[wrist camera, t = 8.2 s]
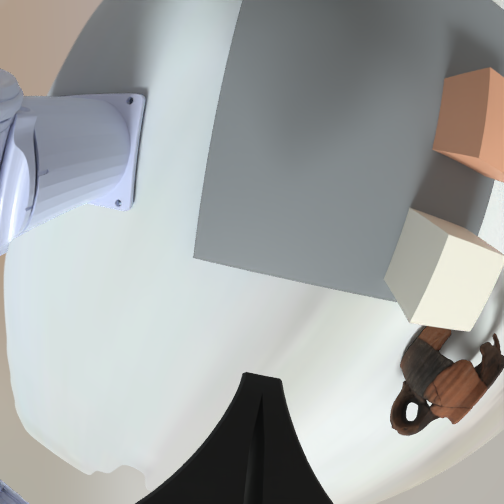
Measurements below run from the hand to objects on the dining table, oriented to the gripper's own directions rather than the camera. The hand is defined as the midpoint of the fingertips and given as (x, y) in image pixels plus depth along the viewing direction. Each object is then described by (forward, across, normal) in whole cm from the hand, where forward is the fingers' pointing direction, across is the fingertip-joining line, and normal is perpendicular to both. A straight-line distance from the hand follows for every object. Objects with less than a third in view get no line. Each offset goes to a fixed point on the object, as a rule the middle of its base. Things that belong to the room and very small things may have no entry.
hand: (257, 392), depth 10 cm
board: (+10, -4, -13) cm, 17 cm away
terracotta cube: (+9, -10, -13) cm, 19 cm away
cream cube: (+9, -10, -4) cm, 14 cm away
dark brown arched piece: (+11, -17, +6) cm, 21 cm away
